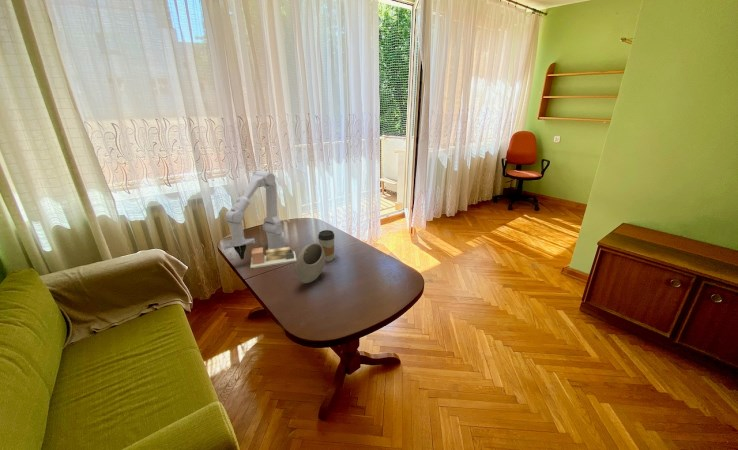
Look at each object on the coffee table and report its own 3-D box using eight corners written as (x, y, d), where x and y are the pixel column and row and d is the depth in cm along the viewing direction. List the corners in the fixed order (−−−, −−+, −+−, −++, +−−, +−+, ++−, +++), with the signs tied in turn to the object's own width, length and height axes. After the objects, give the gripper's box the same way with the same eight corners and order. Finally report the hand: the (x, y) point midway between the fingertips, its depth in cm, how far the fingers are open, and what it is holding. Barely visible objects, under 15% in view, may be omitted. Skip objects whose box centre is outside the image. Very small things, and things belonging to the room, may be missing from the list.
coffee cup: (338, 256, 158) (337, 231, 152) (330, 264, 151) (328, 237, 146) (325, 253, 162) (323, 228, 156) (316, 260, 155) (314, 234, 149)
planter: (304, 293, 129) (300, 255, 122) (292, 288, 132) (287, 251, 125) (330, 273, 143) (328, 238, 136) (319, 269, 147) (317, 235, 139)
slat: (290, 254, 158) (289, 246, 156) (290, 257, 156) (289, 249, 154) (267, 258, 155) (265, 250, 153) (267, 261, 152) (265, 252, 150)
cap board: (294, 252, 162) (294, 246, 161) (296, 261, 154) (295, 255, 152) (251, 259, 156) (250, 252, 155) (250, 268, 147) (249, 262, 146)
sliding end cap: (264, 257, 156) (262, 247, 153) (264, 262, 151) (262, 252, 148) (253, 259, 154) (252, 248, 152) (253, 264, 149) (251, 253, 147)
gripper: (251, 228, 150) (255, 251, 156) (220, 234, 144) (225, 258, 149) (254, 233, 145) (258, 257, 150) (221, 239, 138) (227, 264, 143)
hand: (242, 258), depth 149 cm, fingers closed
